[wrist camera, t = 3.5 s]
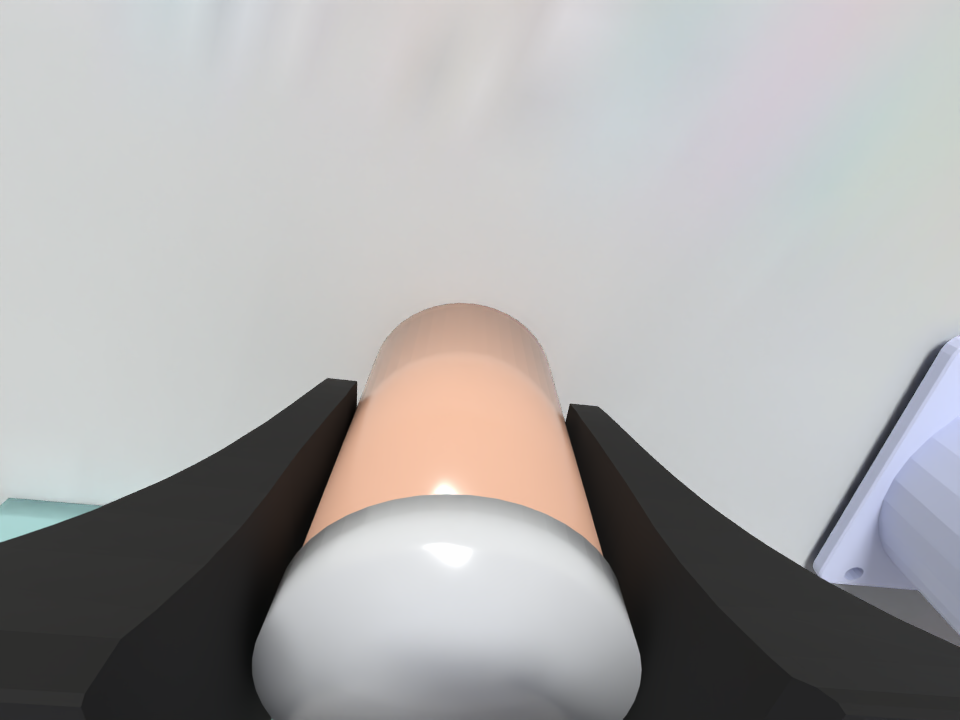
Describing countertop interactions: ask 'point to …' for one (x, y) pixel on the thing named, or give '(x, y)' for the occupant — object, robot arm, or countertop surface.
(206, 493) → the robot arm
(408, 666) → the shaker
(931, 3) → the countertop surface
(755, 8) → the countertop surface
